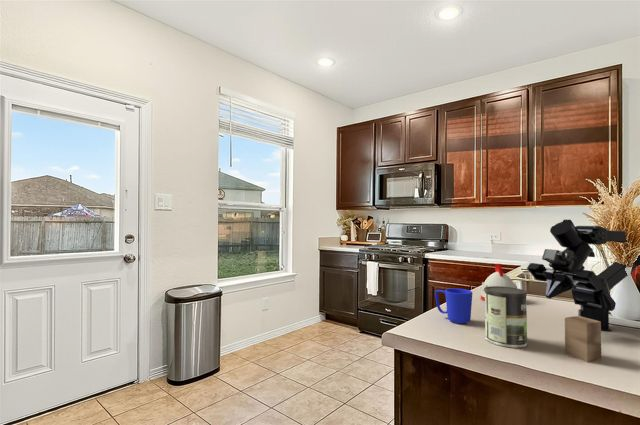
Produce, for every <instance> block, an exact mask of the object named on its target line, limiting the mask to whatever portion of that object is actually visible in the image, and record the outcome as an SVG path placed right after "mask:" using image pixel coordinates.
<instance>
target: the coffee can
mask: <svg viewBox="0 0 640 425" xmlns="http://www.w3.org/2000/svg"><path fill="white" fill-rule="evenodd" d="M484 291H485V301H484V321H485V322H484V328H485V336H484V338H485V340H486V341H487V342H488V343H491V344H494V345H496V346H500V347H504V348H512V349H513V348H514V349H517V348H526V347H527V346H528V331H527V330H528V325H527V324H528V323H527V322H528V319H527V318H528V316H527V315H528V314H527V312H528V310H527V295H528V292H527V291H526V290H525V289H521V288H518V287H517V288H512V287H502V286H490V287H485V288H484Z"/></svg>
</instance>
